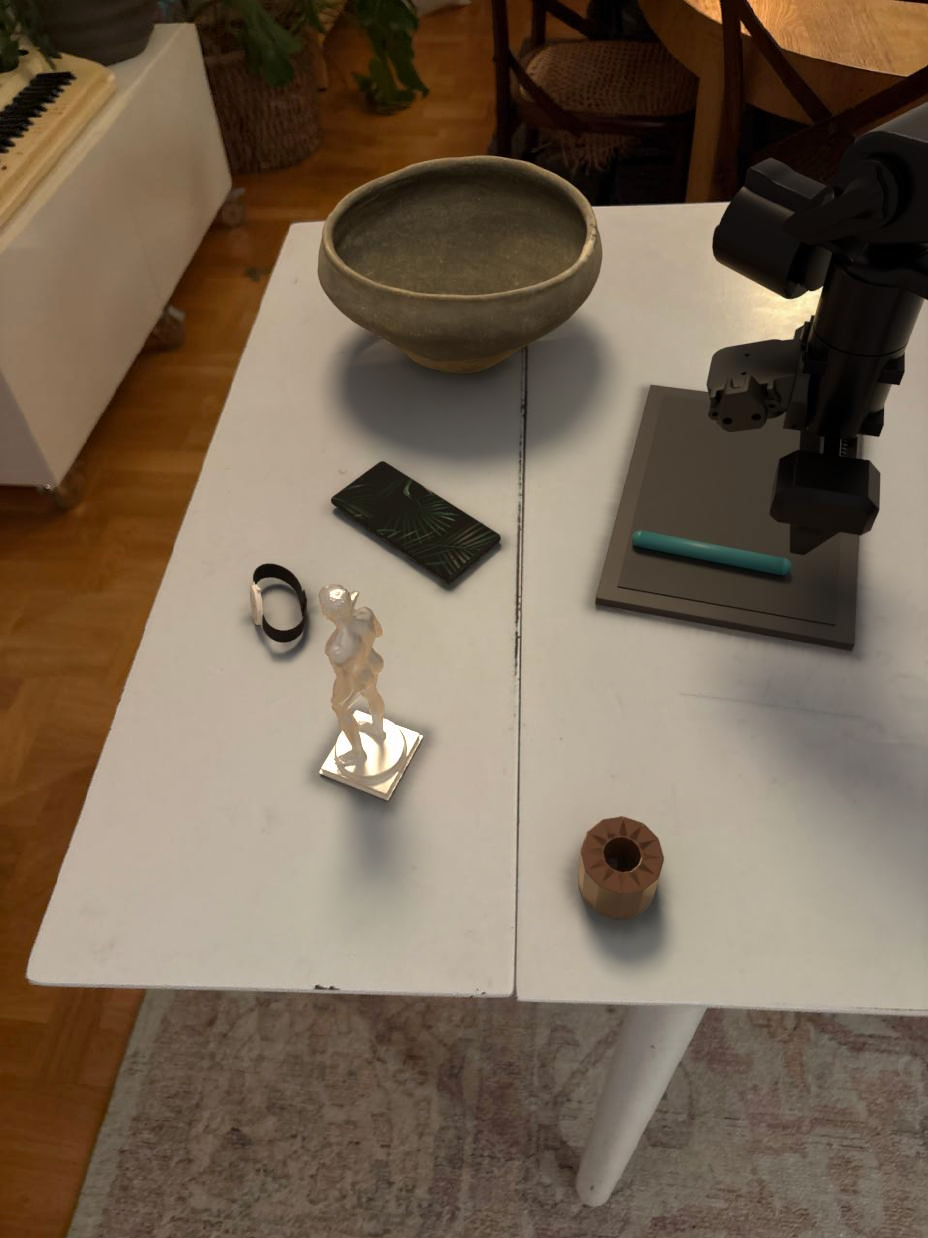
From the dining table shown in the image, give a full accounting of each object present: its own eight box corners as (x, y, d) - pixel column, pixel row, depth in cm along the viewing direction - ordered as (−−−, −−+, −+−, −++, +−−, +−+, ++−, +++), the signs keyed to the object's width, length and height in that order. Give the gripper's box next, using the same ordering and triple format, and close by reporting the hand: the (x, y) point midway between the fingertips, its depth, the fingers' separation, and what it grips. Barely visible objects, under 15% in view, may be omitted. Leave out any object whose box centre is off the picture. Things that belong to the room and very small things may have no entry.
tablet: (649, 391, 90) (650, 383, 90) (860, 418, 86) (863, 410, 85) (594, 604, 74) (595, 596, 73) (851, 651, 70) (855, 643, 69)
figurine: (372, 684, 71) (332, 523, 57) (446, 722, 68) (423, 564, 54) (306, 766, 67) (245, 615, 52) (381, 810, 64) (339, 663, 50)
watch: (245, 588, 78) (234, 559, 75) (298, 572, 78) (289, 543, 76) (263, 656, 73) (252, 628, 70) (320, 638, 74) (311, 610, 71)
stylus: (793, 557, 73) (634, 526, 77) (793, 563, 72) (632, 531, 75) (789, 573, 74) (631, 542, 77) (789, 579, 73) (629, 547, 76)
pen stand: (644, 841, 61) (651, 811, 58) (664, 913, 58) (672, 886, 55) (571, 852, 61) (574, 823, 58) (587, 925, 58) (591, 899, 55)
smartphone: (448, 581, 75) (328, 498, 82) (449, 588, 76) (330, 506, 83) (503, 534, 78) (382, 458, 85) (503, 542, 79) (383, 466, 86)
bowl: (314, 425, 90) (283, 299, 79) (356, 271, 107) (336, 149, 96) (597, 427, 88) (607, 297, 76) (595, 269, 104) (603, 143, 93)
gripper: (742, 236, 63) (708, 414, 75) (708, 406, 52) (674, 581, 65) (913, 252, 61) (849, 433, 73) (914, 434, 50) (838, 610, 62)
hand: (801, 508), depth 68 cm, fingers open, 9 cm apart
